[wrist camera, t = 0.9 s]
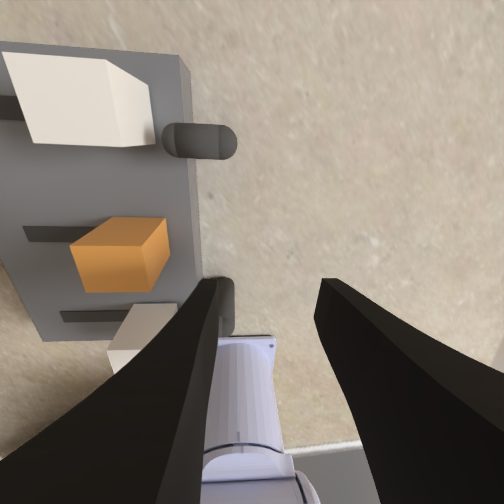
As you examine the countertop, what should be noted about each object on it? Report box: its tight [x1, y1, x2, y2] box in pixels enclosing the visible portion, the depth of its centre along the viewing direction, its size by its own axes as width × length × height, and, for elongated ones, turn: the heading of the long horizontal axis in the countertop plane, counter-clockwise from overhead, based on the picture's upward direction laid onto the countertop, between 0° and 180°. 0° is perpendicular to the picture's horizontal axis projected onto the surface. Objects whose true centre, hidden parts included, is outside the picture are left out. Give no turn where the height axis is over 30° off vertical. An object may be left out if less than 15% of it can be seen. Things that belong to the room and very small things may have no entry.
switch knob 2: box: [106, 303, 178, 374], centre depth 15 cm, size 2×3×4 cm
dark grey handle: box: [161, 122, 237, 338], centre depth 15 cm, size 12×3×6 cm, turn 177°
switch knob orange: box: [70, 217, 170, 293], centre depth 12 cm, size 2×3×4 cm
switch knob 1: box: [2, 52, 156, 147], centre depth 9 cm, size 2×3×4 cm
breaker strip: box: [0, 41, 203, 342], centre depth 15 cm, size 18×12×3 cm, turn 177°
